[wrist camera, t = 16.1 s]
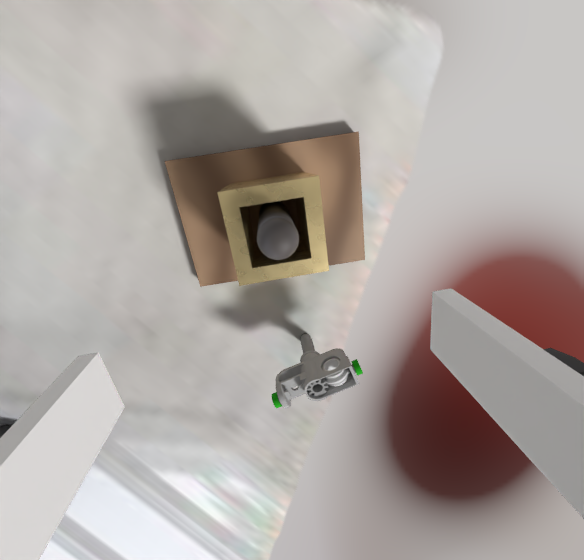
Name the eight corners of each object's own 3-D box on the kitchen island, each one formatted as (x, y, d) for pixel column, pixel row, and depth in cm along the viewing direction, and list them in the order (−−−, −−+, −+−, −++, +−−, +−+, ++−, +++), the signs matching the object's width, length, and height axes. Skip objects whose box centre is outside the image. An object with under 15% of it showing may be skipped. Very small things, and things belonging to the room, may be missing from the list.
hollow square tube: (245, 255, 34) (239, 285, 26) (229, 183, 31) (217, 192, 23) (313, 244, 34) (328, 270, 26) (304, 172, 31) (319, 175, 23)
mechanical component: (268, 344, 41) (269, 398, 32) (336, 315, 40) (358, 362, 31) (277, 360, 42) (280, 416, 33) (343, 332, 41) (366, 382, 32)
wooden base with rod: (202, 281, 37) (168, 348, 23) (168, 161, 31) (100, 161, 18) (361, 255, 37) (413, 307, 24) (354, 132, 32) (417, 113, 19)
